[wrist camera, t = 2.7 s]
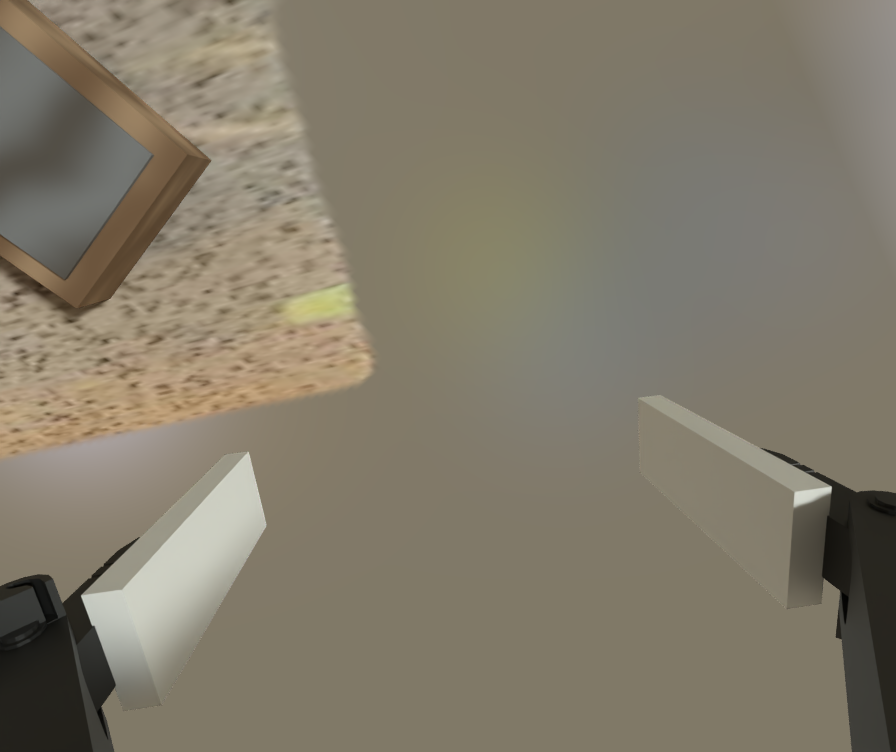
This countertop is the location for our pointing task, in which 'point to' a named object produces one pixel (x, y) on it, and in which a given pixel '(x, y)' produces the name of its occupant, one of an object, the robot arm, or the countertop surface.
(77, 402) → the countertop surface
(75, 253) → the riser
